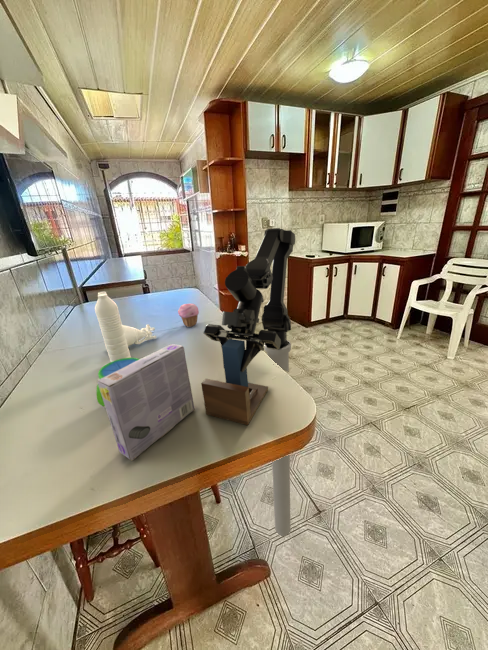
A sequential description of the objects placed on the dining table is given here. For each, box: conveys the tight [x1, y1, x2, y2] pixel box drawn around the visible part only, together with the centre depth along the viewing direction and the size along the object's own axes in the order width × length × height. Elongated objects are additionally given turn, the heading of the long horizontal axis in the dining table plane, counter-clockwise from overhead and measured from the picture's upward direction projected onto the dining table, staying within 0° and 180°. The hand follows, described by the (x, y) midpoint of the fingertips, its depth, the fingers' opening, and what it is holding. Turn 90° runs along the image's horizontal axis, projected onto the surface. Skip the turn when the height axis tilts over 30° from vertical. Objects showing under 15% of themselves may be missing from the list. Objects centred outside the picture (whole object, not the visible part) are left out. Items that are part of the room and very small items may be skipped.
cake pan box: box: [96, 343, 196, 462], centre depth 58 cm, size 19×5×18 cm, turn 145°
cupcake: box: [177, 303, 200, 328], centre depth 117 cm, size 9×9×10 cm
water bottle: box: [94, 290, 132, 363], centre depth 86 cm, size 9×6×25 cm
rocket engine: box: [104, 324, 157, 351], centre depth 103 cm, size 12×12×18 cm
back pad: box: [221, 339, 249, 387], centre depth 64 cm, size 4×4×13 cm
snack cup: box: [95, 357, 141, 408], centre depth 70 cm, size 16×10×10 cm
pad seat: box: [200, 378, 269, 426], centre depth 66 cm, size 14×11×9 cm
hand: (233, 370), depth 63 cm, fingers closed on back pad, 4 cm apart
